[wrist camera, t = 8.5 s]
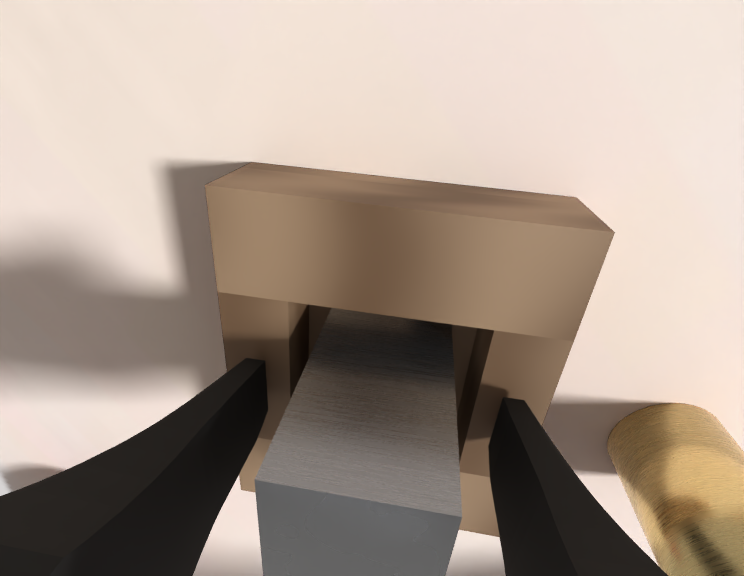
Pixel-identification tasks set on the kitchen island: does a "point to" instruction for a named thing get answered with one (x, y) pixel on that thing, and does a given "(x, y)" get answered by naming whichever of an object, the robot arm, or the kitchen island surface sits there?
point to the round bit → (684, 487)
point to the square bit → (365, 455)
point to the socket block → (405, 286)
